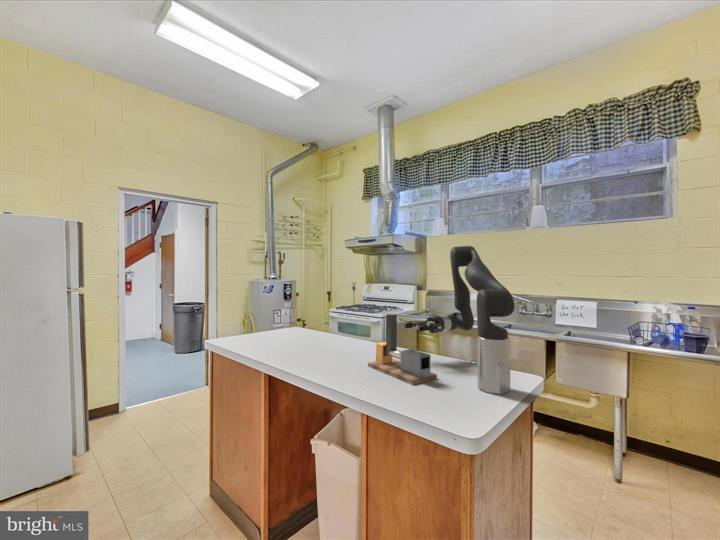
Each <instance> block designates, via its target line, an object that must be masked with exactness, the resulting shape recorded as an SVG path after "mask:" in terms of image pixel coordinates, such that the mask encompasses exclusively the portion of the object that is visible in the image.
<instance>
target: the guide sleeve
mask: <svg viewBox="0 0 720 540" xmlns="http://www.w3.org/2000/svg"><path fill="white" fill-rule="evenodd" d="M400 351H401V359H400V362H401V372H404V373H406V374H409V375H411V376H414V377H417V378H419V379H421V378H425V377H429V376H430V372H431V354H429V353H426V352H422V351H419V350H415V349H411V348H410V349H405V350H400Z"/></svg>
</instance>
